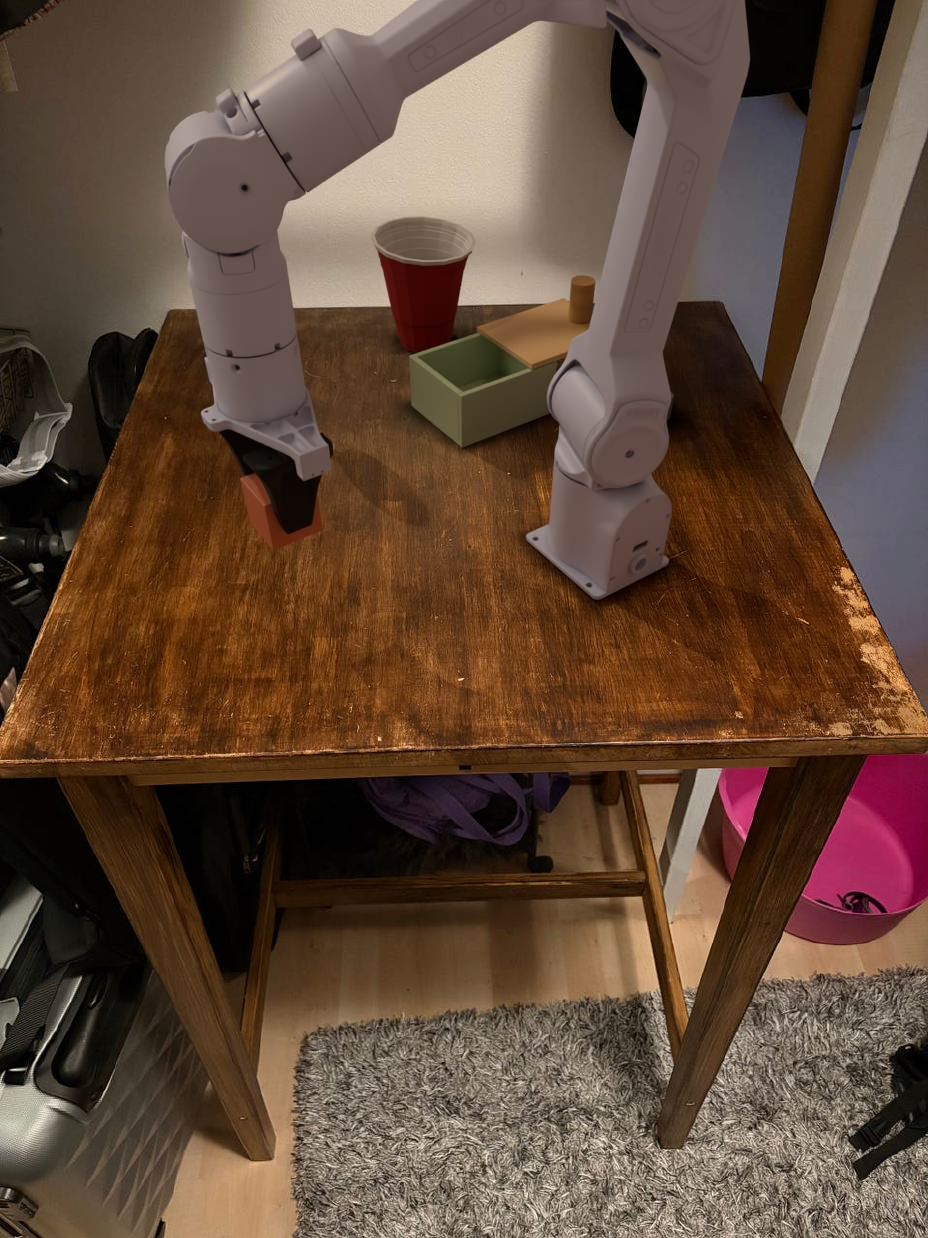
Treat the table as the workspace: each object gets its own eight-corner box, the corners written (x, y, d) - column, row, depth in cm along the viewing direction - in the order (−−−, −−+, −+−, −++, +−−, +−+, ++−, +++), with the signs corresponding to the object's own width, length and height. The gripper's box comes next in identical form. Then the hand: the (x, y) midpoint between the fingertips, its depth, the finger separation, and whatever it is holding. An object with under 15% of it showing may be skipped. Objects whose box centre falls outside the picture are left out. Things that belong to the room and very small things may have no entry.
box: (553, 412, 91) (557, 361, 87) (461, 448, 87) (461, 396, 83) (500, 373, 97) (501, 324, 93) (411, 405, 92) (408, 355, 88)
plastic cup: (455, 373, 97) (453, 262, 88) (363, 356, 100) (353, 247, 91) (488, 327, 104) (490, 221, 96) (402, 313, 107) (396, 208, 98)
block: (323, 530, 66) (316, 485, 63) (273, 550, 64) (264, 506, 62) (298, 502, 68) (290, 458, 66) (249, 522, 67) (239, 477, 64)
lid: (621, 337, 91) (626, 293, 87) (531, 369, 86) (534, 324, 83) (563, 303, 96) (566, 260, 93) (476, 331, 92) (477, 287, 88)
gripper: (145, 308, 59) (192, 480, 68) (239, 407, 50) (277, 587, 60) (246, 280, 61) (277, 449, 71) (351, 369, 53) (370, 547, 62)
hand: (283, 510), depth 65 cm, fingers closed on block, 4 cm apart
